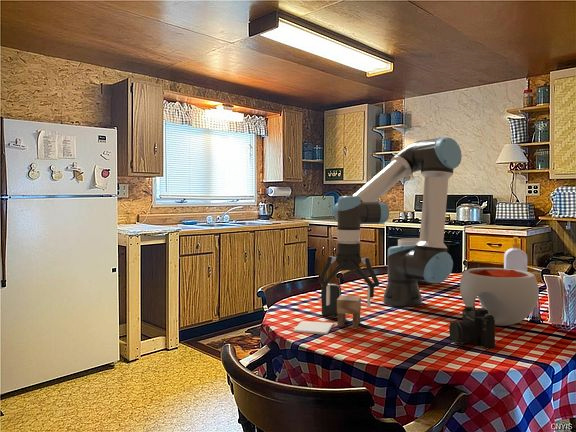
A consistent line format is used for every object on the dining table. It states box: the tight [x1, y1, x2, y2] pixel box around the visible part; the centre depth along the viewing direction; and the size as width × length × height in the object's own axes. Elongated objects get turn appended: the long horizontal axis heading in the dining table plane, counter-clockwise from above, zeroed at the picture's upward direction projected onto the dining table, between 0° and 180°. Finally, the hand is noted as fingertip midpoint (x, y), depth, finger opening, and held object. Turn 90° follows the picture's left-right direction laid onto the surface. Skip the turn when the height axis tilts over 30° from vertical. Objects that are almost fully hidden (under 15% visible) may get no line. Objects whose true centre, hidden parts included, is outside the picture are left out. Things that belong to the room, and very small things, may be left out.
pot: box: [459, 267, 540, 327], centre depth 154 cm, size 24×24×18 cm
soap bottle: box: [503, 236, 528, 272], centre depth 216 cm, size 9×7×23 cm
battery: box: [320, 282, 342, 317], centre depth 166 cm, size 7×4×11 cm, turn 65°
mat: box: [292, 320, 335, 335], centre depth 150 cm, size 11×11×1 cm
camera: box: [448, 305, 496, 350], centre depth 134 cm, size 14×11×10 cm
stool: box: [337, 294, 362, 329], centre depth 153 cm, size 7×7×9 cm
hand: (348, 305), depth 153 cm, fingers open, 13 cm apart
